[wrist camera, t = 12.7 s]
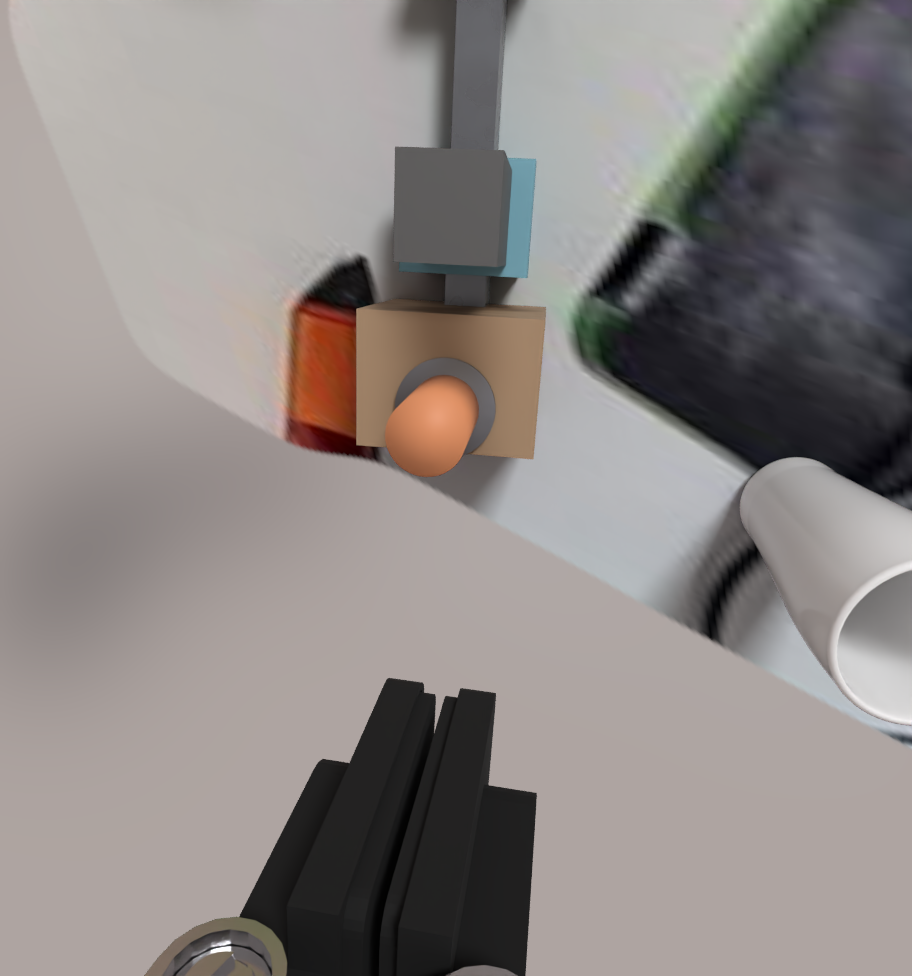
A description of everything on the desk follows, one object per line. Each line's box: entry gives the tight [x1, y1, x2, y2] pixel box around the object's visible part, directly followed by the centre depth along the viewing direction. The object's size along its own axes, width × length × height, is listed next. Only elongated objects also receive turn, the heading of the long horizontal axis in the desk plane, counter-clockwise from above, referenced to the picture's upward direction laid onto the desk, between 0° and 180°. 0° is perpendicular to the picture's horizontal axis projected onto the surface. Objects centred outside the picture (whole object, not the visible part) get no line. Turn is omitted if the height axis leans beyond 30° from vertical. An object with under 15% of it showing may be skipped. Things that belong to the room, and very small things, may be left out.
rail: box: [445, 0, 507, 307], centre depth 32 cm, size 5×16×4 cm, turn 178°
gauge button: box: [385, 375, 479, 477], centre depth 27 cm, size 3×3×5 cm
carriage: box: [393, 147, 536, 278], centre depth 30 cm, size 6×5×10 cm
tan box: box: [356, 299, 546, 459], centre depth 33 cm, size 8×6×8 cm
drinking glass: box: [740, 457, 912, 726], centre depth 30 cm, size 7×7×15 cm
